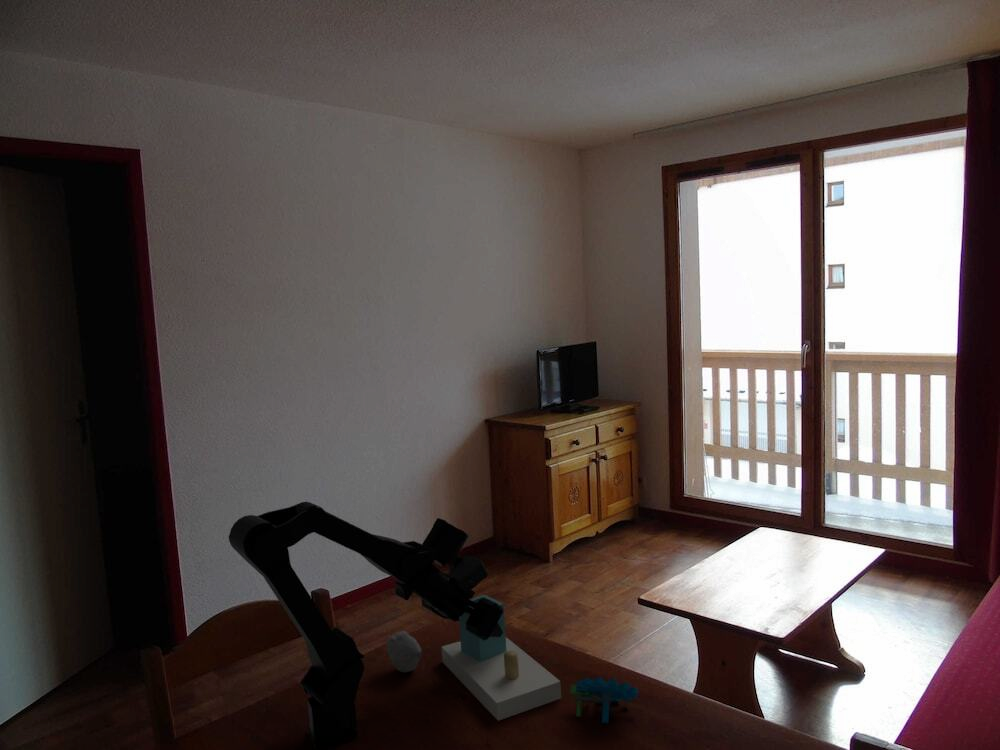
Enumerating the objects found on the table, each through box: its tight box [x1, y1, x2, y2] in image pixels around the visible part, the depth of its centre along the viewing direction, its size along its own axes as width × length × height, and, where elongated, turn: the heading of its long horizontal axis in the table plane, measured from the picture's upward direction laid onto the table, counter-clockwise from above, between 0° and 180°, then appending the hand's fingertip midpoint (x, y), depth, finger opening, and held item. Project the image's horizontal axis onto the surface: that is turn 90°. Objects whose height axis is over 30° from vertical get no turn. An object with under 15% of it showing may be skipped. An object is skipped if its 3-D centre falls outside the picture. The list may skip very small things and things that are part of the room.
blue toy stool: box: [569, 676, 639, 725], centre depth 114 cm, size 11×6×10 cm
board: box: [441, 637, 562, 722], centre depth 127 cm, size 12×23×8 cm, turn 27°
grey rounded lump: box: [385, 630, 423, 673], centre depth 132 cm, size 6×7×7 cm
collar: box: [458, 594, 507, 662], centre depth 132 cm, size 6×6×9 cm
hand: (488, 627), depth 133 cm, fingers open, 7 cm apart
